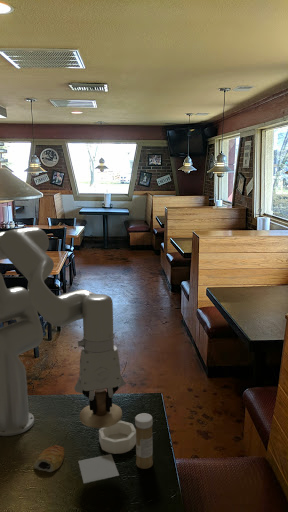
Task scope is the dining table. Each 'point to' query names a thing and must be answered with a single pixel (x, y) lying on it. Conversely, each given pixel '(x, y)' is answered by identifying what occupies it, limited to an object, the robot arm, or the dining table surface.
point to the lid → (100, 413)
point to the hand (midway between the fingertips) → (100, 410)
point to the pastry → (50, 459)
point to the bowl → (118, 437)
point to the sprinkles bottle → (144, 440)
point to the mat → (98, 468)
